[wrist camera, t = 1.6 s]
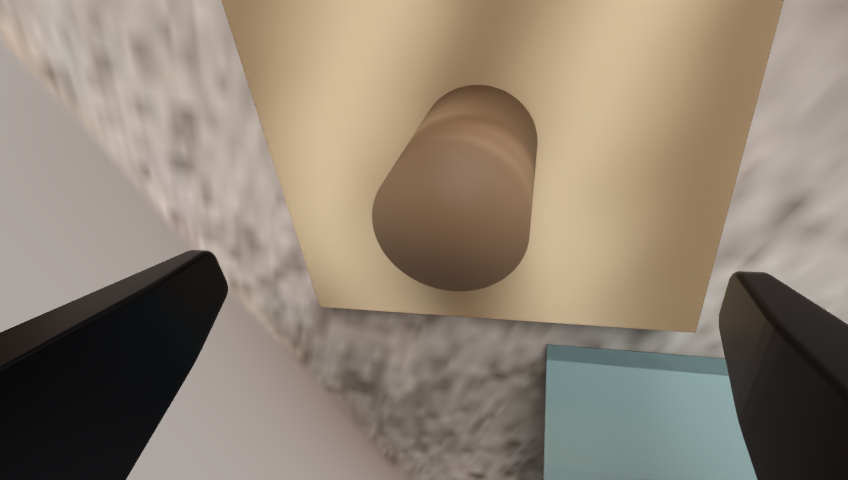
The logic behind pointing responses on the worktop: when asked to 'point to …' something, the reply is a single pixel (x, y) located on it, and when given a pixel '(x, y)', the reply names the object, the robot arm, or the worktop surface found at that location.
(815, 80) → the worktop surface
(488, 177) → the lid
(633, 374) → the light blue box
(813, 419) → the robot arm
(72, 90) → the worktop surface
